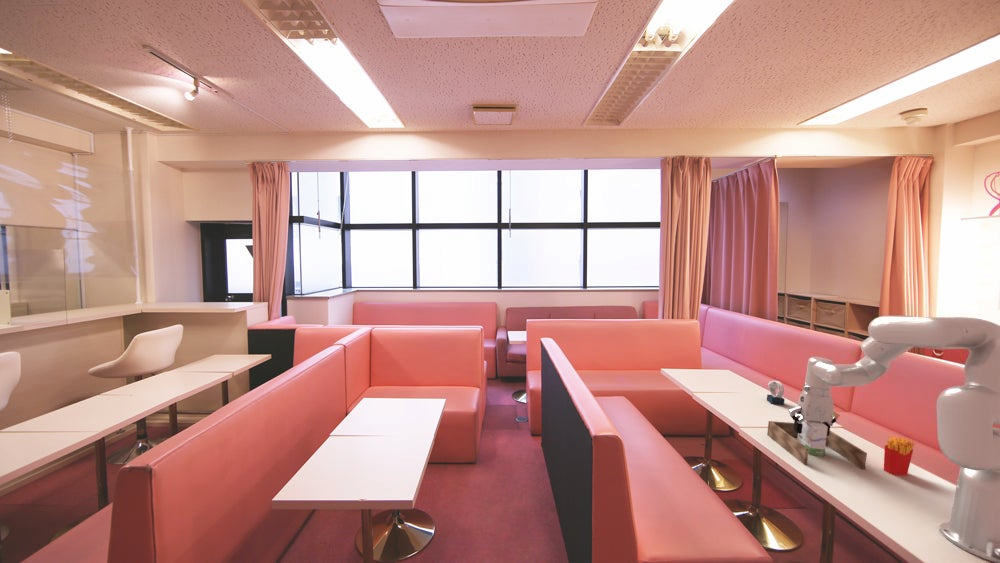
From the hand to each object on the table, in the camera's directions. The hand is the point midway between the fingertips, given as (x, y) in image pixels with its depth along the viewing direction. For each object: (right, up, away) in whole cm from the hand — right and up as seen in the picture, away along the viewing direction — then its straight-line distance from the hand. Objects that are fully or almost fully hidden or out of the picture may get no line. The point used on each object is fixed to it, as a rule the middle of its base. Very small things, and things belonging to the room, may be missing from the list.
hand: (810, 432), depth 137 cm
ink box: (0, -7, 0) cm, 7 cm away
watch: (+19, -3, +42) cm, 47 cm away
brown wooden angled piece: (0, -7, -1) cm, 7 cm away
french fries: (+19, -9, -12) cm, 24 cm away
